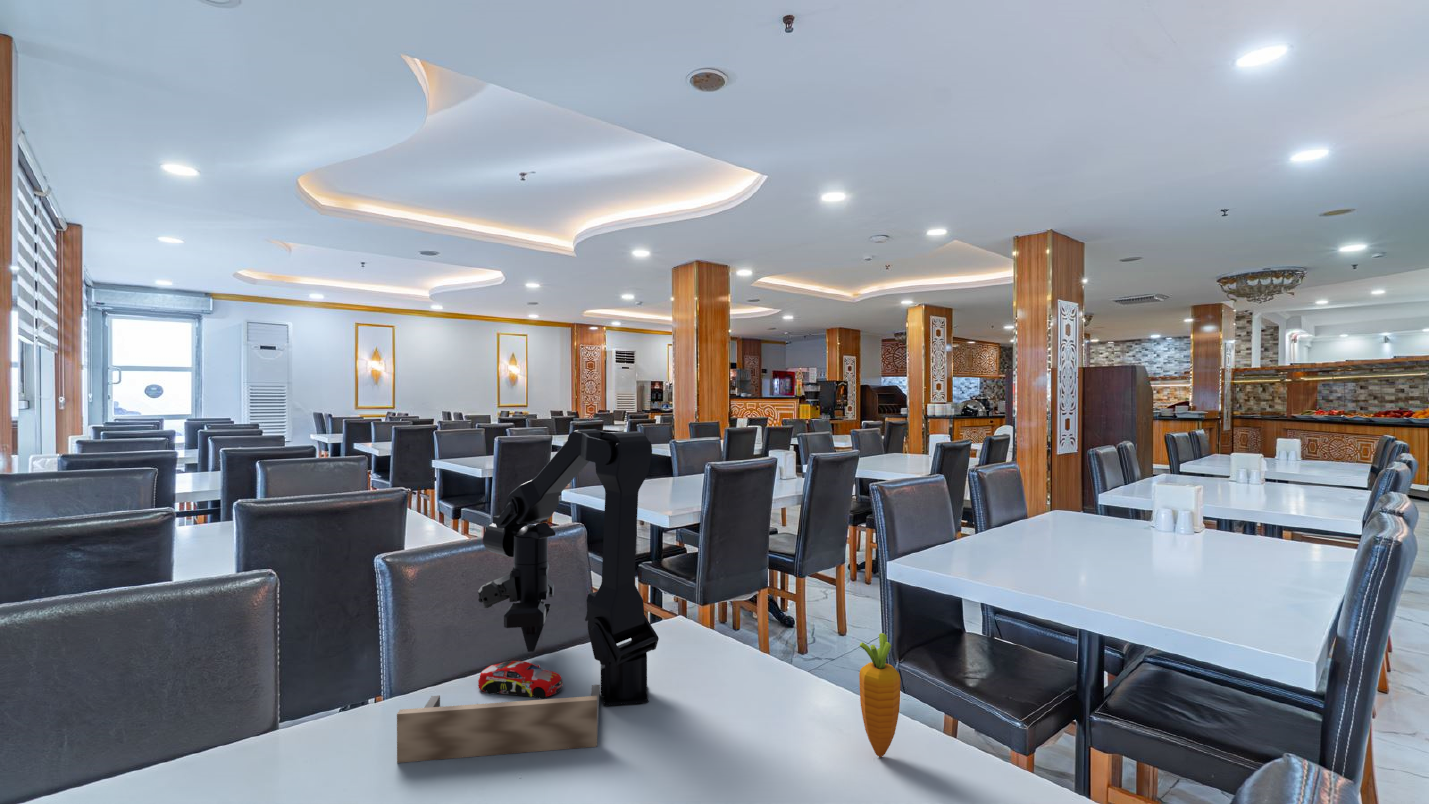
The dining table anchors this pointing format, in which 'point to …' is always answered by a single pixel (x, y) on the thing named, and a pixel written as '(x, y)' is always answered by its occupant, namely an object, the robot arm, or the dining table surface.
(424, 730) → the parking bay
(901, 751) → the dining table surface
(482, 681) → the race car
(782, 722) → the dining table surface
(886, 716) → the carrot
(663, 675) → the dining table surface
